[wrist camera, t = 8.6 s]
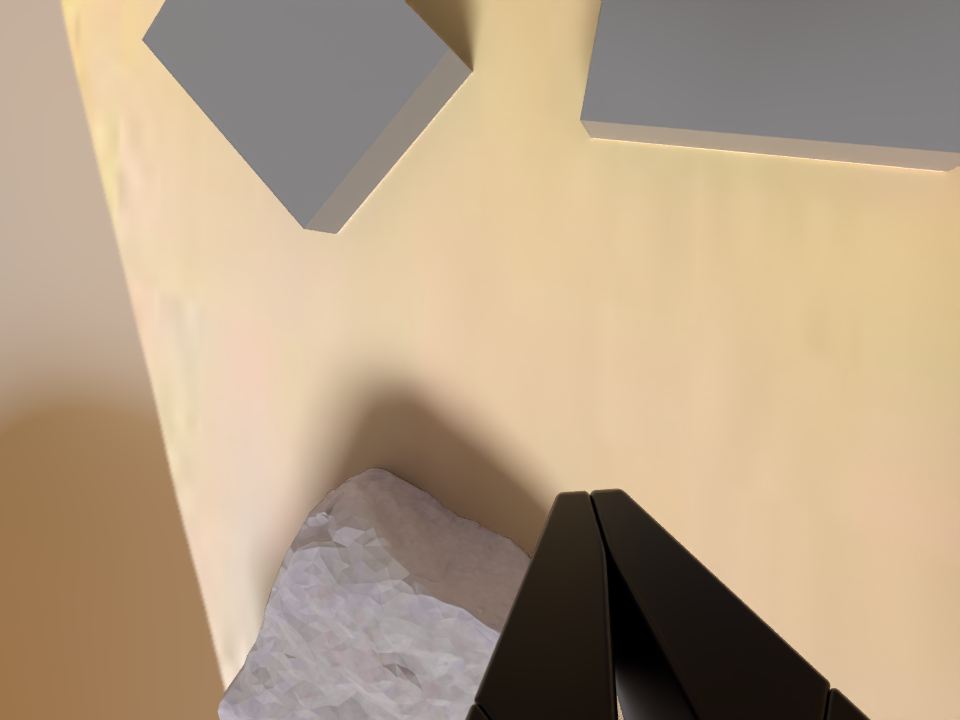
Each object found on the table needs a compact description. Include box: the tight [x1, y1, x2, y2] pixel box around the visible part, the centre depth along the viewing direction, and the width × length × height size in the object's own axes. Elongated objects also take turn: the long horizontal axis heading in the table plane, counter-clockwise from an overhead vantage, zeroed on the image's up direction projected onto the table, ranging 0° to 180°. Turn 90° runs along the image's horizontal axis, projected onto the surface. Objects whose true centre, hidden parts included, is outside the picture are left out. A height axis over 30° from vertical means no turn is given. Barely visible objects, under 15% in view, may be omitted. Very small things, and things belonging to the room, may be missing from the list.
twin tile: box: [580, 0, 960, 172], centre depth 15 cm, size 9×7×2 cm
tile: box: [142, 0, 473, 234], centre depth 19 cm, size 2×7×9 cm
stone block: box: [218, 468, 531, 720], centre depth 20 cm, size 12×5×10 cm
